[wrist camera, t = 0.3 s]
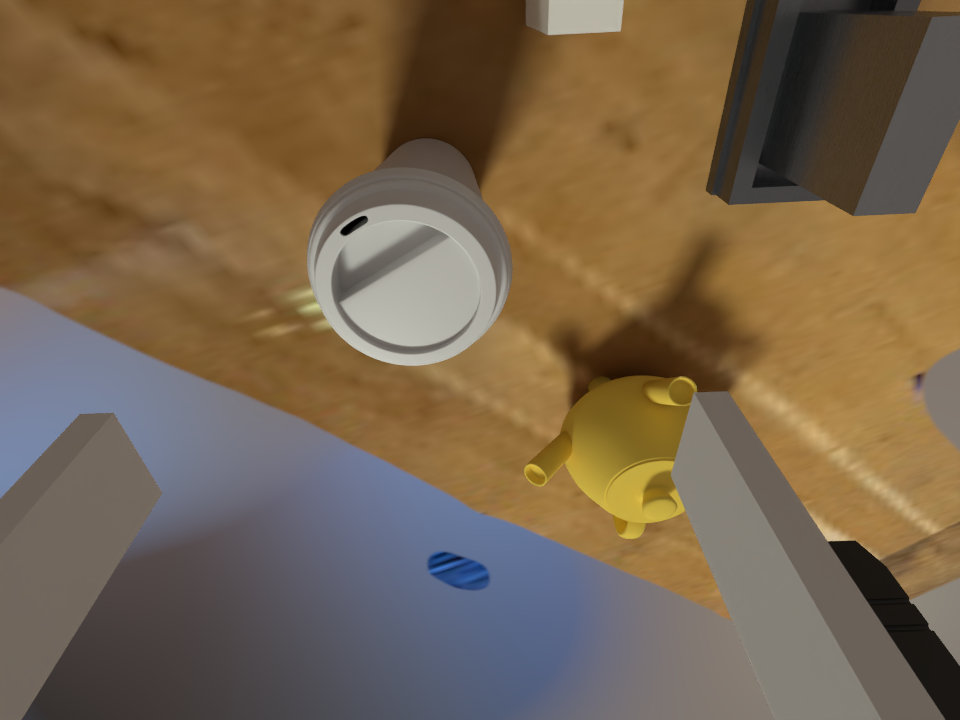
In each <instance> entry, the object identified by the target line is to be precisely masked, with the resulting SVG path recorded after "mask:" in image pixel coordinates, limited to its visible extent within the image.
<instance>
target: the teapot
mask: <svg viewBox="0 0 960 720" xmlns="http://www.w3.org/2000/svg"><path fill="white" fill-rule="evenodd" d="M588 391H589V392H588V393H587V394H585V395H584V396H583V397H582V398H581V399H580V400H578V401H577V403H576V404H575V405H574V406H573V407H572V408H571V410H570V411H569V412H568V414H567V416H566V418H565V420H564V422H563V425H562V428H561V431H560V435H558V436H557V437H556V438H555V439H554V440H553V441H552V442H551V443H550V444H549V445H547V446H546V447H545V448H544V449H543V450H542V451H541V452H540V453H539V454H538V455H537V456H535V457H534V458H533V459H532V460H531V461H530V462H529V463H528V464H527V465H526V466H525V467H524V473H525V476H526V478H527V479H528V480H529V481H530V482H531V483H532V484H534V485H536V486H543V485H545V484H546V483H547V481H548V480H549V479H550V478H551V477H552V476H553V475H554V474H555V473H556V472H557V471H558V469H559V468H560V467H561V466H562V465H563V464H564V463H565V465H566V467H567V469H568V471H569V473H570V474H571V476H572V478H573V479H574V481H575V482H576V483H577V485H578V486H579V487H580V488H581V489H582V490H583V491H584V493H586V494H587V495H588V496H589V497H590V498H591V499H592V500H593V501H595V502H596V503H597V504H599V505H600V506H601V507H603V508H604V509H605V510H607V511H608V512H610V513H611V514H612V515H613V521H614V525H615V529H616V531H617V533H618V534H619V535H620V536H621V537H623V538H626V539H635V538H638V537H639V536H641V535H642V533H643V531H644V529H645V526H646V523H651V522H658V521H663V520H666V519H669V518H672V517H675V516H677V515H679V514H681V513H682V512H684V511H686V510H685V508H684V506H683V503H682V501H681V499H680V496H679V494H678V492H677V489H676V487H675V485H674V482H673V480H672V477H671V472H672V469H673V465H674V462H675V458H676V455H677V451H678V447H679V444H680V440H681V437H682V433H683V430H684V426H685V422H686V419H687V415H688V412H689V408H690V405H691V401H692V397H693V394H694V392H697V386H696V384H695V383H694V381H693V380H692V379H690V378H688V377H684V376H680V377H673V378H663V377H657V376H627V377H622V378H617V379H614V380H611V379H609V378H608V377H597V378H594V379H593V380H591V381H590V383H589V384H588Z"/></svg>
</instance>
